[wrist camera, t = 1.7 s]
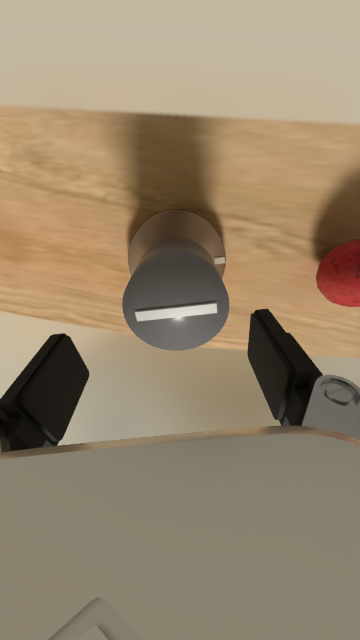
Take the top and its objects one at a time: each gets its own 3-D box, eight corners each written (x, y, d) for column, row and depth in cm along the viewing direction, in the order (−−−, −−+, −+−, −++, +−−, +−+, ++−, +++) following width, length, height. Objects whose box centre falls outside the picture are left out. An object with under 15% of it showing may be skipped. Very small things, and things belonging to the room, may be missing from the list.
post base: (222, 201, 18) (235, 208, 14) (223, 295, 24) (232, 320, 20) (119, 216, 19) (103, 226, 15) (142, 304, 24) (135, 330, 20)
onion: (297, 248, 21) (352, 279, 14) (360, 220, 19) (454, 240, 13) (305, 293, 24) (353, 337, 17) (360, 272, 22) (436, 311, 16)
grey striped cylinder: (215, 232, 15) (230, 252, 11) (217, 320, 20) (228, 358, 15) (126, 244, 16) (107, 267, 11) (148, 327, 20) (140, 366, 16)
